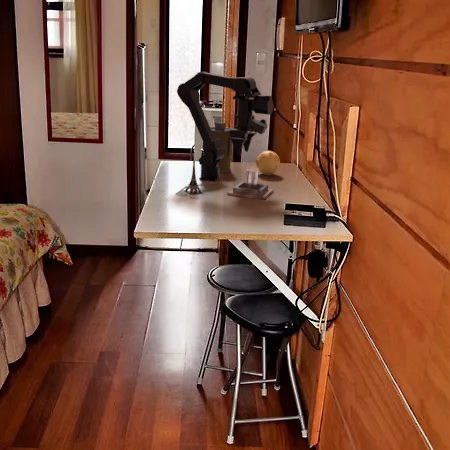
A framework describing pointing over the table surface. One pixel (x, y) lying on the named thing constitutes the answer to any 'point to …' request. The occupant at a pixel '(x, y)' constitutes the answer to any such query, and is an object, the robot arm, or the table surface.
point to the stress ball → (268, 162)
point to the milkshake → (252, 177)
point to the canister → (223, 134)
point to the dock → (251, 191)
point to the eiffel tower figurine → (190, 186)
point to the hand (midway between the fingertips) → (243, 153)
